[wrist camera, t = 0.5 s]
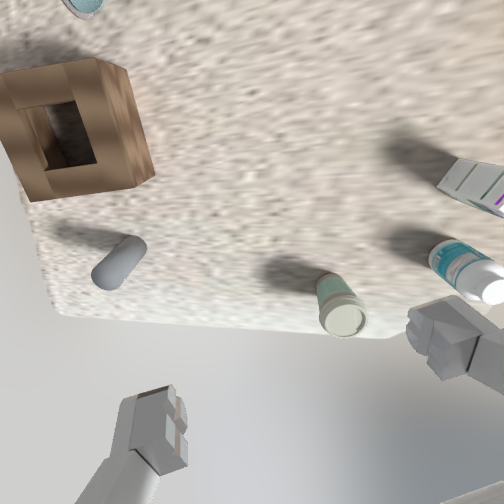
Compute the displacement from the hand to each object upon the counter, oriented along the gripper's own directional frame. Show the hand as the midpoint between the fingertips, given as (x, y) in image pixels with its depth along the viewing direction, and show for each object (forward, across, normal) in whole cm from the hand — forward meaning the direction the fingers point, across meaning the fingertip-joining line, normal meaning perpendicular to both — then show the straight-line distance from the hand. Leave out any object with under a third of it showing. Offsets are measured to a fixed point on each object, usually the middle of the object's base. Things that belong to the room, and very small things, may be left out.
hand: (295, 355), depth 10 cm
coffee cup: (+38, -16, +33) cm, 53 cm away
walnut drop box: (+49, +18, -4) cm, 53 cm away
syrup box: (+36, -41, +16) cm, 57 cm away
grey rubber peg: (+47, +20, +17) cm, 53 cm away
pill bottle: (+34, -39, +31) cm, 61 cm away
